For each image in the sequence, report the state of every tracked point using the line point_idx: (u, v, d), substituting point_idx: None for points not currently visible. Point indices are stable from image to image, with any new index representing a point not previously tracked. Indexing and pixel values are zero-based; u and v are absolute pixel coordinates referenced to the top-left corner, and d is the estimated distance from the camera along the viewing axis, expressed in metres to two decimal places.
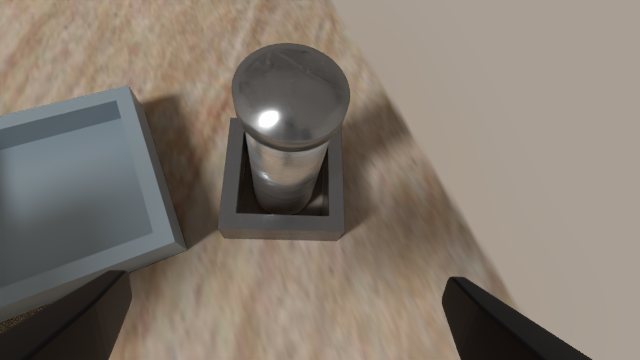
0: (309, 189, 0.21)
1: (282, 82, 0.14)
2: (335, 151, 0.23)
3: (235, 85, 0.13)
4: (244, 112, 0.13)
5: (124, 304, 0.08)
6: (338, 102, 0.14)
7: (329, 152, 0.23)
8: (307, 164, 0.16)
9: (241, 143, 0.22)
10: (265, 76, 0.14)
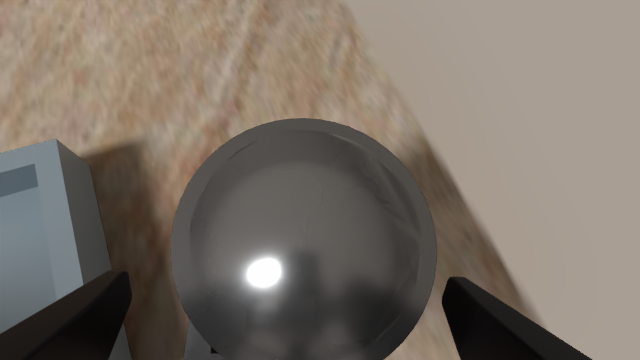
0: None
1: (288, 215, 0.06)
2: None
3: (180, 229, 0.06)
4: (197, 306, 0.05)
5: (124, 304, 0.08)
6: (413, 261, 0.06)
7: None
8: None
9: None
10: (251, 202, 0.06)
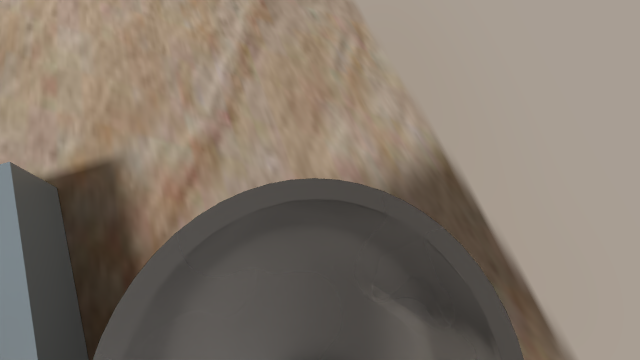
0: None
1: (287, 358, 0.04)
2: None
3: None
4: None
5: None
6: None
7: None
8: None
9: None
10: (223, 335, 0.04)
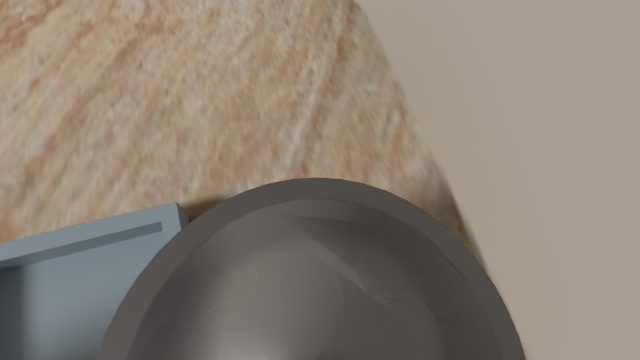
0: None
1: (290, 356, 0.04)
2: None
3: None
4: None
5: None
6: None
7: None
8: None
9: None
10: (226, 333, 0.04)
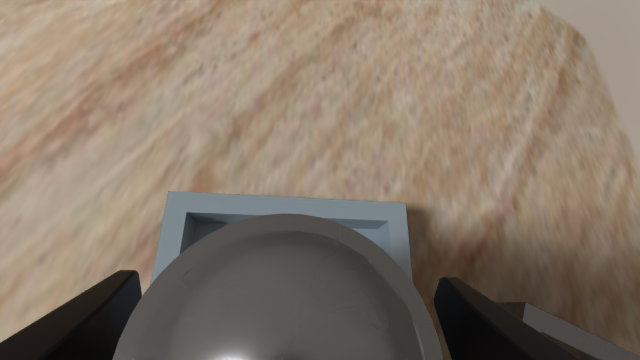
0: None
1: (257, 355, 0.05)
2: None
3: None
4: None
5: (134, 304, 0.08)
6: None
7: None
8: None
9: None
10: (209, 337, 0.05)
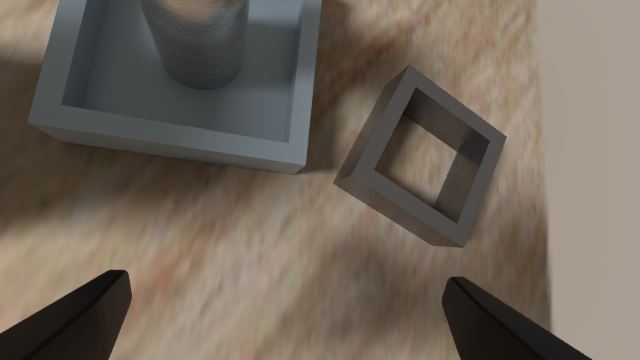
0: (229, 47, 0.14)
1: None
2: (490, 160, 0.20)
3: None
4: None
5: (124, 304, 0.08)
6: None
7: (484, 158, 0.20)
8: None
9: (408, 98, 0.19)
10: None
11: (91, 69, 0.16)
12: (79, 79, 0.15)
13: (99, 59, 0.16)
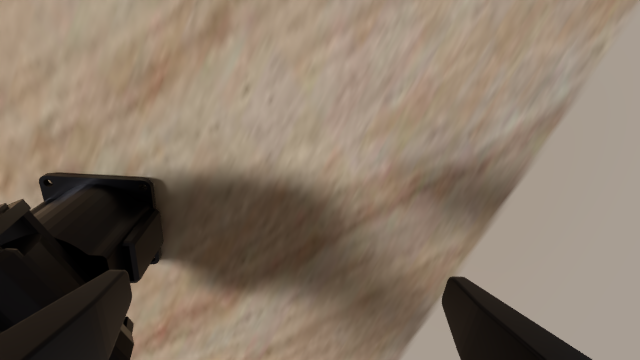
0: None
1: None
2: None
3: None
4: None
5: (124, 304, 0.08)
6: None
7: None
8: None
9: None
10: None
11: None
12: None
13: None
